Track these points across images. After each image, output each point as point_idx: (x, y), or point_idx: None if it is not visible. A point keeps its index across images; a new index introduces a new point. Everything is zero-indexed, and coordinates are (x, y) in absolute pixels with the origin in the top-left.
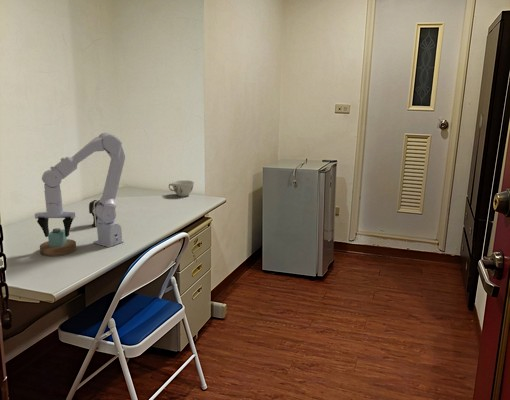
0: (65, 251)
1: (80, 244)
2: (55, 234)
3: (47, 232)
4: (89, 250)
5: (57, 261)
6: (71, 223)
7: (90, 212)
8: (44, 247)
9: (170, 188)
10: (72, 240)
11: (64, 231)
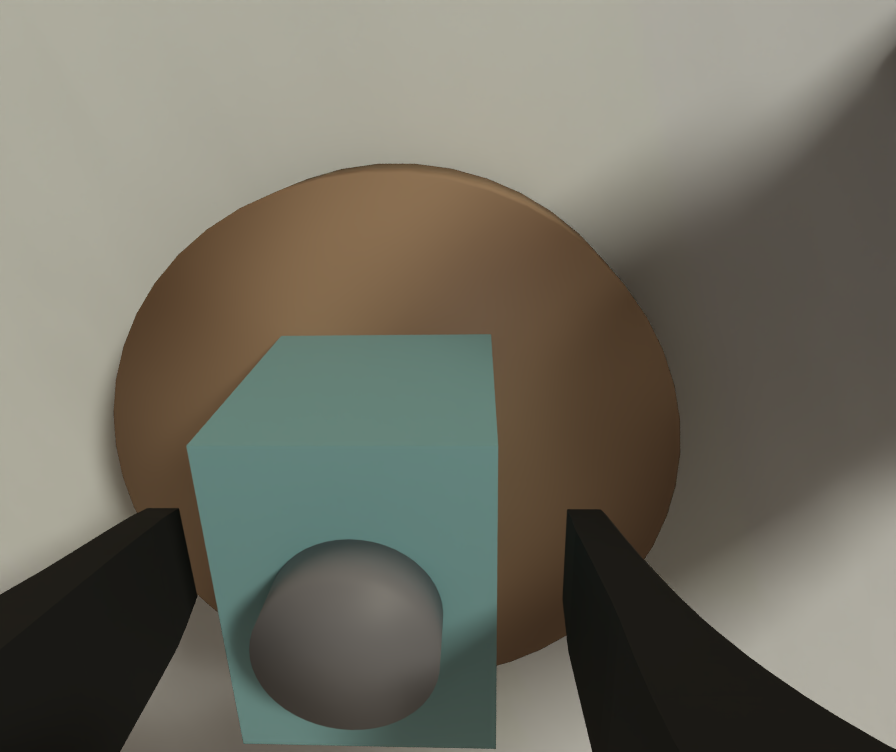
0: None
1: (662, 129)
2: (401, 742)
3: (150, 614)
4: (861, 422)
5: (540, 739)
6: (785, 690)
7: None
8: None
9: None
10: (576, 266)
11: (495, 509)
